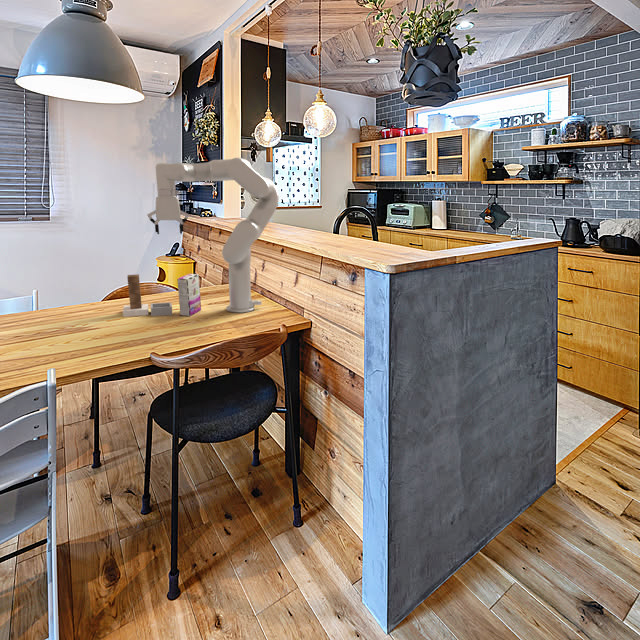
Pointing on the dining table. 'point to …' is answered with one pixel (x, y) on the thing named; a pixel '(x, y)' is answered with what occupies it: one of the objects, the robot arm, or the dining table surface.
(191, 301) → the candy bar box
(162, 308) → the pocket
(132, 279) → the walnut block
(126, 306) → the thin white tile
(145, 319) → the dining table surface
